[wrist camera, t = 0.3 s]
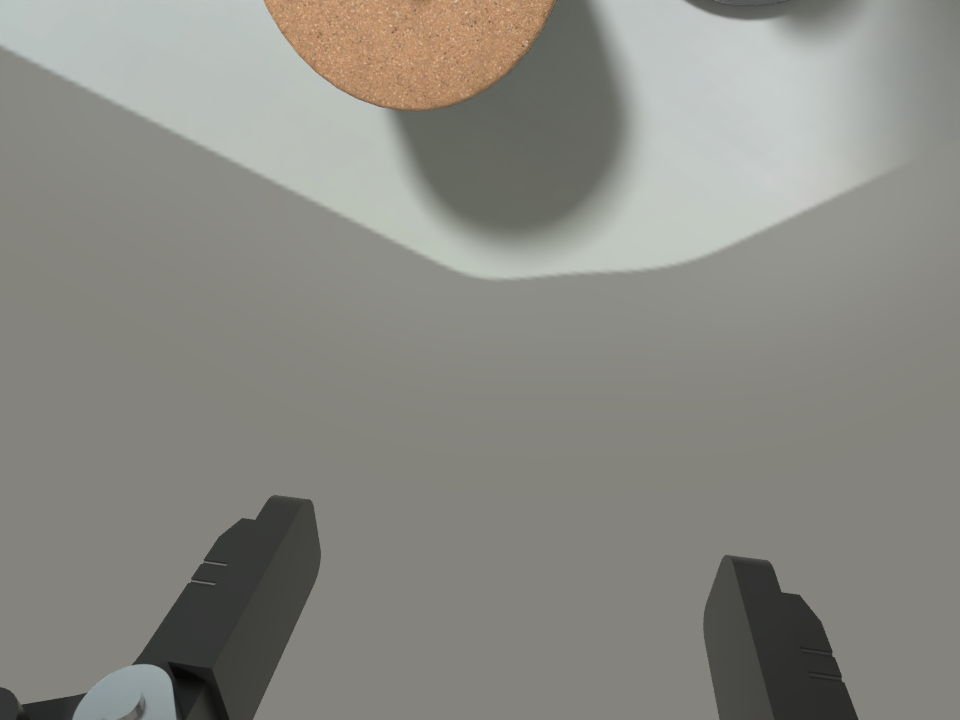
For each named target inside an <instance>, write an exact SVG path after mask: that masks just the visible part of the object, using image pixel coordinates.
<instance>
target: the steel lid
mask: <svg viewBox="0 0 960 720" xmlns="http://www.w3.org/2000/svg"><path fill="white" fill-rule="evenodd" d="M713 1H717V2H721V3H725V4H734V5H768V4H773V3H779V2H785V1H789V0H713Z"/></svg>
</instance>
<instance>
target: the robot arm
mask: <svg viewBox="0 0 960 720" xmlns="http://www.w3.org/2000/svg"><path fill="white" fill-rule="evenodd" d="M320 558H321V551H320V544H319V538H318V531H317V525H316V519H315V513H314V506H313V503H312V501H311V500H309V499H301V498H293V497H286V496H277V495H274V496H272V497H270V498H269V499H268V501H267V502H266V504H265V505H264V507H263V508H262V510H261V512H260V513H259V515H258V516H257V518H256V520H251V519H244V518H242V519H241V520H240V521H238V522H237V523H236V524H235V525H233V526H232V527H231V528H230V529H228V530H227V531H226V532H225V533H223V534H222V535H221V536H220V537H219V538H218V539H217V541H216V542H215V544H214V545H213V547H212V548H211V550H210V551H209V553H208V554H207V556H206V557H205V559H204V563H203V564H201V565H200V566H199V568H198V570H197V571H196V572H195V574H194V575H193V577H192V580H191V583H188V584H187V586H186V587H185V589H184V590H183V592H182V593H181V595H180V596H179V598H178V599H177V601H176V602H175V604H174V605H173V607H172V608H171V610H170V611H169V613H168V614H167V616H166V617H165V619H164V620H163V622H162V623H161V625H160V626H159V628H158V629H157V631H156V632H155V634H154V635H153V637H152V638H151V640H150V641H149V643H148V644H147V646H146V647H145V649H144V650H143V652H142V653H141V654H140V656H139V657H138V658H137V660H136V661H135V662H134V663H133V664H132V665H131V666H129V667H125V668H123V669H120V670H118V671H115V672H113V673H112V674H110V675H108V676H107V677H105V678H104V679H103V680H101V681H100V682H98V683H97V684H96V685H95V686H94V687H93V688H92V689H91V690H90V691H89V692H87V693H85V694H80V695H76V696H71V697H64V698H59V699H53V700H47V701H41V702H35V703H29V704H23V705H21V704H20V703H19V701H18V700H17V698H16V697H15V695H14V694H13V693H12V692H11V691H9V690H7V689H5V688H1V687H0V720H253V718H254V715H255V713H256V711H257V709H258V707H259V704H260V702H261V700H262V698H263V696H264V693H265V691H266V689H267V687H268V685H269V682H270V680H271V678H272V676H273V674H274V671H275V669H276V667H277V665H278V663H279V660H280V658H281V656H282V654H283V652H284V649H285V647H286V645H287V643H288V640H289V638H290V636H291V634H292V632H293V630H294V627H295V625H296V623H297V621H298V619H299V616H300V614H301V612H302V610H303V607H304V605H305V603H306V601H307V598H308V596H309V594H310V592H311V590H312V588H313V585H314V583H315V581H316V578H317V575H318V571H319V565H320ZM704 639H705V645H706V650H707V656H708V660H709V666H710V671H711V676H712V682H713V687H714V692H715V697H716V703H717V708H718V714H719V719H720V720H858V717H857V715H856V712H855V709H854V707H853V704H852V701H851V699H850V696H849V694H848V691H847V688H846V686H845V683H844V682H842V679H841V678H842V675H841V673H840V670H839V667H838V665H837V662H836V660H835V658H834V657H833V656H832V649H831V646H830V644H829V641H828V638H827V636H826V633H825V631H824V628H823V625H822V623H821V621H820V620H819V619H818V617H817V616H816V615H815V614H814V612H813V611H812V610H811V609H810V607H809V606H808V605H807V604H806V603H805V601H804V600H803V599H802V598H801V596H800V595H797V594H789V593H782V592H781V589H780V586H779V583H778V581H777V577H776V574H775V571H774V569H773V567H772V565H771V563H770V562H769V561H767V560H761V559H753V558H746V557H737V556H730V555H725V556H724V557H723V559H722V561H721V563H720V566H719V569H718V572H717V575H716V578H715V581H714V583H713V587H712V589H711V592H710V595H709V597H708V600H707V603H706V606H705V611H704Z"/></svg>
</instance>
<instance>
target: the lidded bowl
mask: <svg viewBox="0 0 960 720" xmlns="http://www.w3.org/2000/svg"><path fill="white" fill-rule="evenodd" d="M264 2H265V4H266V7H267V9H268V11H269V12H270V14H271V16H272V17H273V19H274V21H275V22H276V24H277V26H278V28H279V29H280V31H281V33H282V34H283V35H284V37H285V38H286V39H287V40H288V42H289V43H290V44H291V46H292V47H293V48H294V50H295V51H296V52H297V53H298V55H299V56H300V57H301V58H302V59H303V60H304V61H305V62H306V63H307V64H308V65H309V66H310V67H311V68H312V69H313V70H314V71H315V72H317V73H318V74H319V75H320V76H322V77H323V78H324V79H326V80H327V81H328V82H330V83H331V84H332V85H334V86H335V87H336V88H338V89H340V90H342V91H344V92H346V93H347V94H349V95H351V96H353V97H355V98H357V99H359V100H362V101H365V102H367V103H370V104H373V105H376V106H379V107H383V108H389V109H395V110H401V111H427V110H433V109H439V108H445V107H449V106H452V105H455V104H457V103H460V102H463V101H466V100H468V99H471V98H472V97H474V96H476V95H478V94H479V93H481V92H483V91H485V90H486V89H488V88H490V87H491V86H493V85H494V84H495V83H496V82H498V81H499V80H500V79H501V78H503V77H504V76H505V75H506V74H507V73H509V72H510V71H511V70H512V69H513V68H514V67H515V66H516V64H517V63H518V62H519V61H520V60H521V59H522V58H523V57H524V56H525V54H526V53H527V52H528V51H529V49H530V48H531V46H532V45H533V43H534V42H535V40H536V39H537V37H538V36H539V34H540V33H541V31H542V30H543V28H544V26H545V24H546V22H547V20H548V18H549V16H550V14H551V12H552V9H553V7H554V5H555V3H556V0H264Z"/></svg>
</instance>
